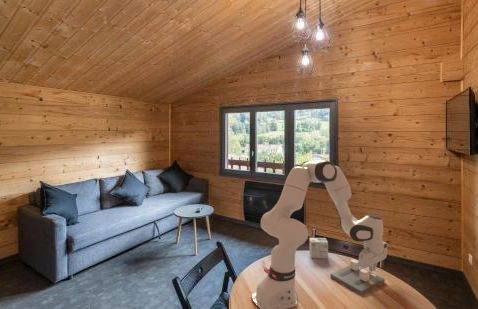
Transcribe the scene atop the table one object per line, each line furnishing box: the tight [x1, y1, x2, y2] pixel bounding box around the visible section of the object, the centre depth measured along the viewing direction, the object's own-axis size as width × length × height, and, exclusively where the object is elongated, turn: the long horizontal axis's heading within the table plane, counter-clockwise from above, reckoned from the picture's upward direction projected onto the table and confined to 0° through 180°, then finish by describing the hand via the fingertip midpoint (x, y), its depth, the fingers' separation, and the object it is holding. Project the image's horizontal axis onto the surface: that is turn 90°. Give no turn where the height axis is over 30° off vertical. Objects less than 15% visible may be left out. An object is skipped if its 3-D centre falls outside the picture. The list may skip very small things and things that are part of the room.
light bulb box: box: [308, 237, 329, 259], centre depth 161 cm, size 11×7×11 cm, turn 84°
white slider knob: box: [349, 258, 360, 271], centre depth 142 cm, size 3×4×4 cm
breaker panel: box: [329, 265, 386, 296], centre depth 135 cm, size 20×18×2 cm
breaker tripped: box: [359, 268, 369, 282], centre depth 131 cm, size 3×4×4 cm
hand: (372, 270), depth 135 cm, fingers closed
